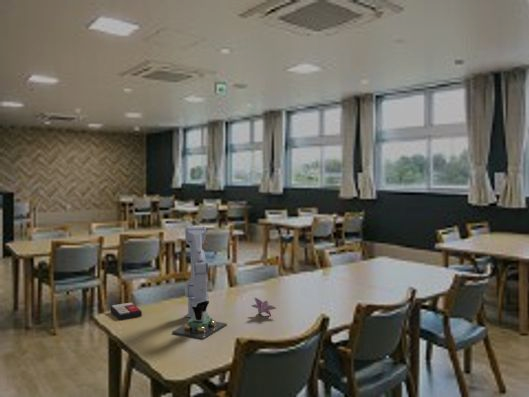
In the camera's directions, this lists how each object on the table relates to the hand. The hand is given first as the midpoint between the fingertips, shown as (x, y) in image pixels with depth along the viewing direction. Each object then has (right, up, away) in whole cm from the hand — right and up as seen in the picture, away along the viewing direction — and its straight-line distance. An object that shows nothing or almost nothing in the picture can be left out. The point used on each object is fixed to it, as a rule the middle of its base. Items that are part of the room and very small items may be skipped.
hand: (200, 318), depth 203 cm
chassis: (0, -5, 0) cm, 5 cm away
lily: (+28, -5, +20) cm, 35 cm away
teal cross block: (0, -2, 0) cm, 2 cm away
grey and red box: (-40, -4, +21) cm, 46 cm away
